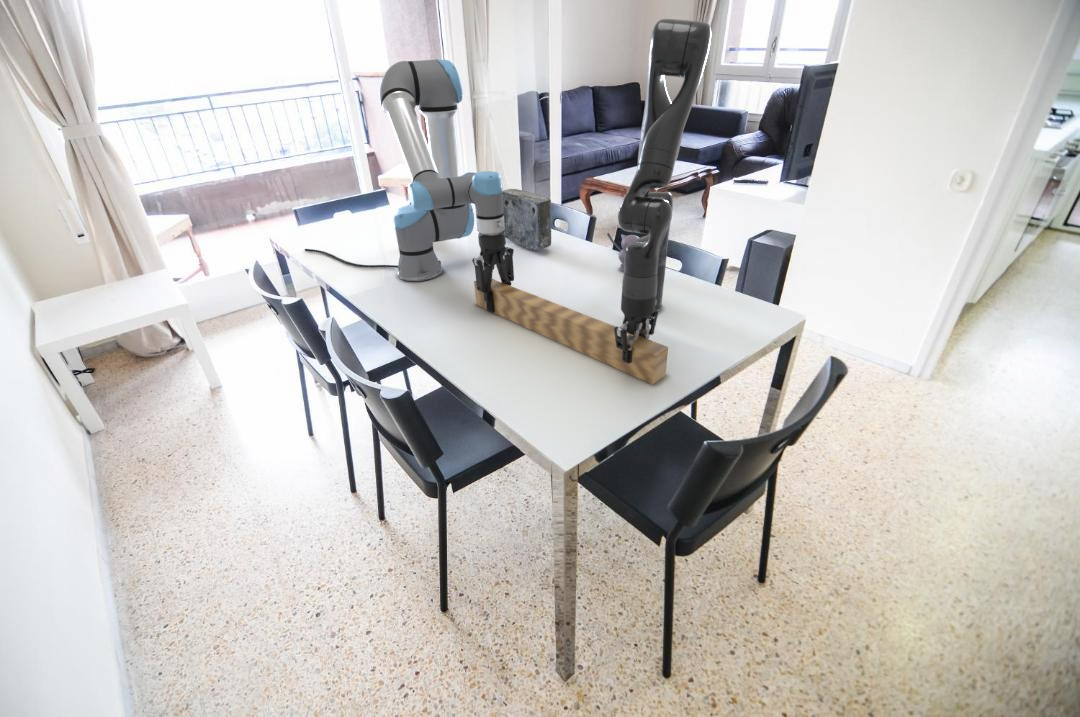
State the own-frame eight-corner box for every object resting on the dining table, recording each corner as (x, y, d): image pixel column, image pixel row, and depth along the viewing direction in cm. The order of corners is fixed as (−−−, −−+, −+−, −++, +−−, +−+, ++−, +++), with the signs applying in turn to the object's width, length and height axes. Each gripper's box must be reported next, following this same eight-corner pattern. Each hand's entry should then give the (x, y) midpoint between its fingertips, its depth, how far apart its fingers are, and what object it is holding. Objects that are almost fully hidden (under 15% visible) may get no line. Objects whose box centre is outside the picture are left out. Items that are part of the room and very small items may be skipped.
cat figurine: (646, 268, 173) (649, 234, 166) (634, 275, 168) (636, 240, 161) (626, 263, 178) (628, 230, 171) (613, 269, 173) (614, 236, 167)
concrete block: (556, 252, 190) (555, 199, 179) (537, 257, 186) (535, 203, 175) (517, 236, 209) (515, 187, 198) (500, 240, 204) (496, 190, 194)
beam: (476, 305, 152) (473, 281, 148) (488, 300, 155) (486, 276, 151) (653, 385, 113) (656, 355, 109) (665, 376, 116) (668, 347, 112)
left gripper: (474, 242, 129) (482, 322, 141) (524, 226, 140) (528, 301, 152) (456, 237, 134) (466, 314, 146) (506, 221, 145) (511, 295, 157)
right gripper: (633, 306, 102) (628, 375, 111) (672, 285, 110) (664, 351, 119) (604, 296, 106) (602, 363, 115) (643, 277, 115) (638, 341, 124)
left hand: (498, 307), depth 149 cm, fingers closed on beam, 5 cm apart
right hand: (634, 357), depth 117 cm, fingers closed on beam, 5 cm apart
